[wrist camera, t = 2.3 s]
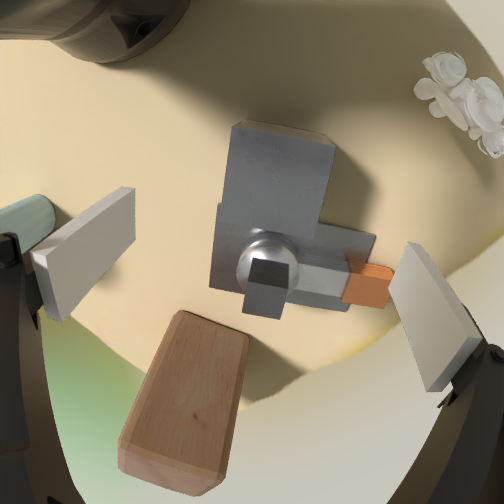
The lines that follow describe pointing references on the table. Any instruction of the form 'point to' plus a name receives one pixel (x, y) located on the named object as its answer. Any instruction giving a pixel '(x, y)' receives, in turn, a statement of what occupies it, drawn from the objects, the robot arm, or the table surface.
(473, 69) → the table surface
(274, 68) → the table surface
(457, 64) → the hat wearing toy figure
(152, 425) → the wooden block
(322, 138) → the grey metal cube
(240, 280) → the lever
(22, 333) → the robot arm
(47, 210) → the cup
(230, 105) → the table surface
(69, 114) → the table surface
